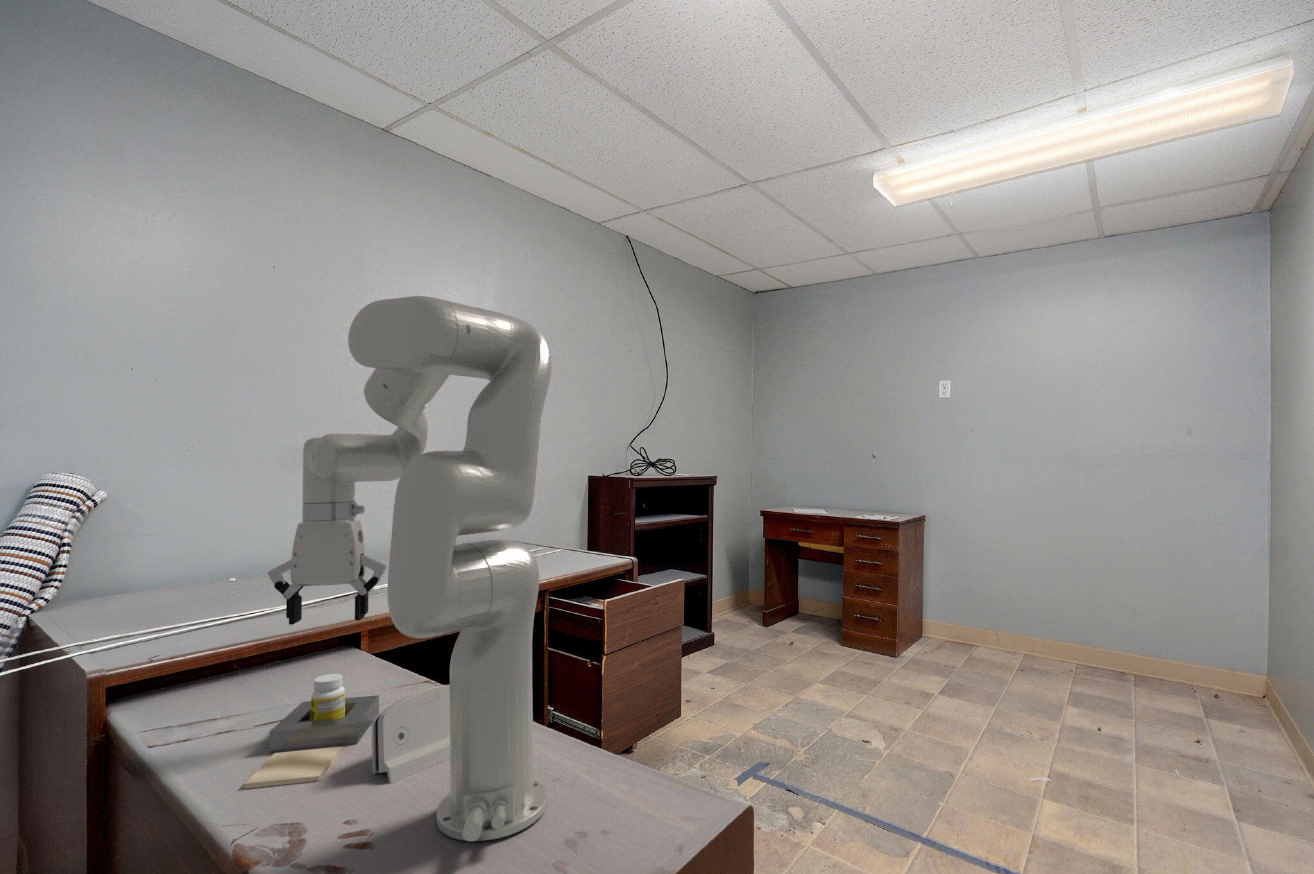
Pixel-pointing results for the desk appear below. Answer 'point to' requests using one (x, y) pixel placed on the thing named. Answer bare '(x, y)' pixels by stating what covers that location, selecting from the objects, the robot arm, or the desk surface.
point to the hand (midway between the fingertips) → (327, 620)
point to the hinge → (412, 734)
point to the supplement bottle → (328, 698)
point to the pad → (293, 767)
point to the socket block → (324, 726)
